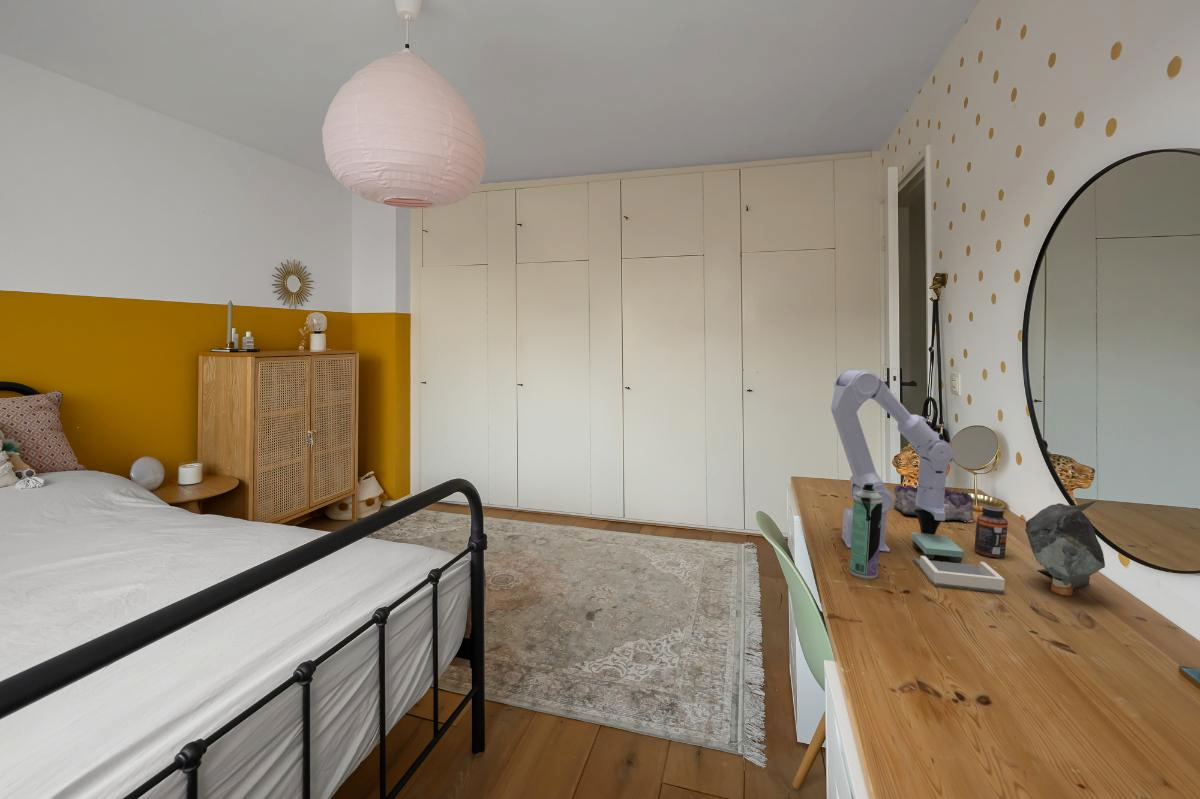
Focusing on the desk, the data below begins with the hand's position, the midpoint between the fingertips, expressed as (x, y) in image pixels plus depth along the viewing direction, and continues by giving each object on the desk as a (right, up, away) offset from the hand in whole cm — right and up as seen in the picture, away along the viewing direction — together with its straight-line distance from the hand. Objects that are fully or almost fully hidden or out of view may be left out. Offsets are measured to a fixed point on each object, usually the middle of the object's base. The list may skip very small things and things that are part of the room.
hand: (927, 539), depth 130 cm
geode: (+17, 0, +25) cm, 30 cm away
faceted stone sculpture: (+14, -4, -22) cm, 26 cm away
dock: (-5, -3, -16) cm, 17 cm away
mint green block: (-2, -2, -6) cm, 6 cm away
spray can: (-24, -3, -16) cm, 29 cm away
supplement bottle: (+12, -3, -4) cm, 13 cm away
